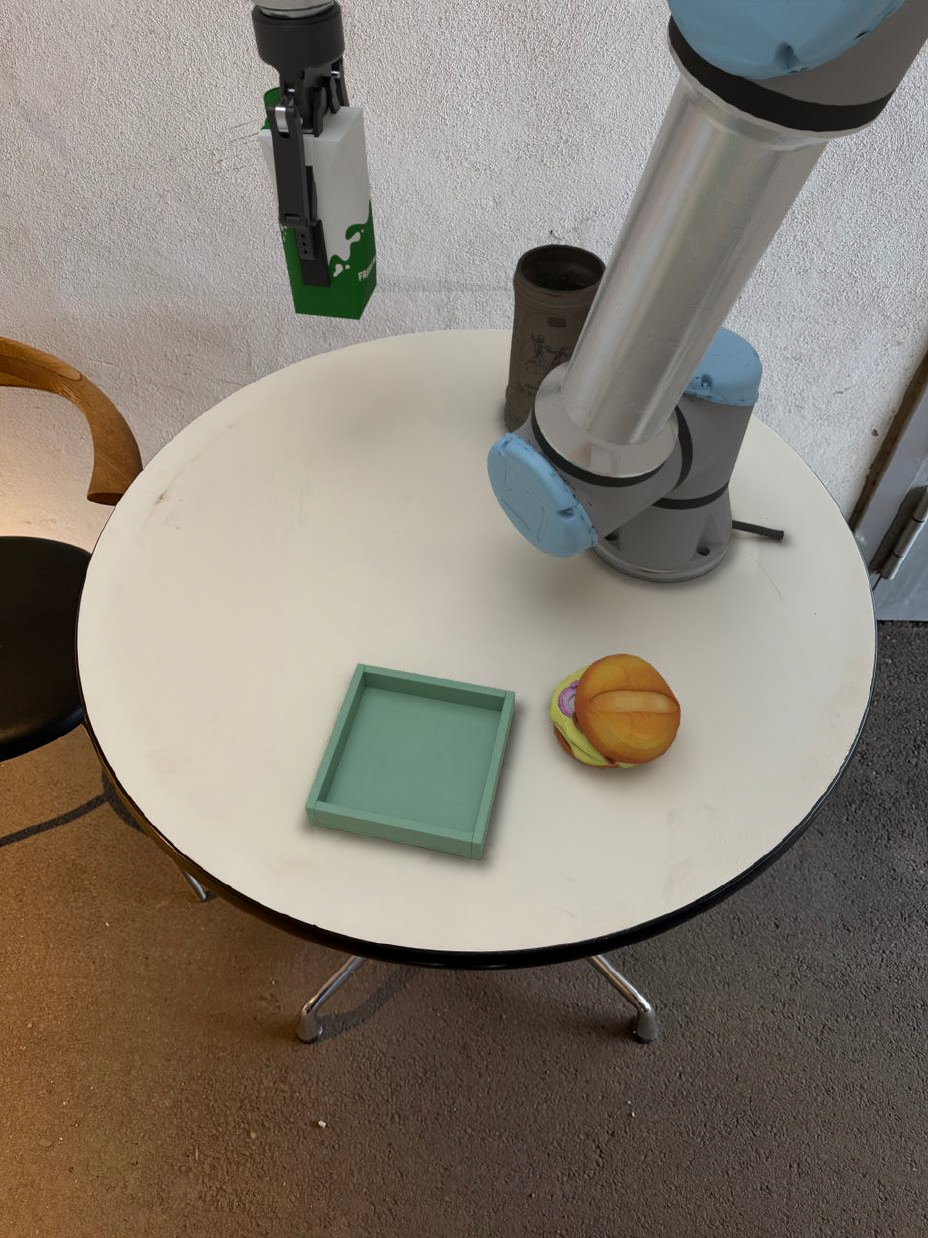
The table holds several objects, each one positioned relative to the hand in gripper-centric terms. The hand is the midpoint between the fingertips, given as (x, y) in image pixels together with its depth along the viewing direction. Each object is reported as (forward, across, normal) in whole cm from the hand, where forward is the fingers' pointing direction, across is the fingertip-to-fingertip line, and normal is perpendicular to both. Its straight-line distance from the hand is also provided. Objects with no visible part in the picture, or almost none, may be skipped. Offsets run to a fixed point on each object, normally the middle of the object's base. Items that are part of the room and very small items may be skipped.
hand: (332, 260), depth 89 cm
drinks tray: (+20, +45, +20) cm, 53 cm away
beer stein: (+20, -4, +26) cm, 33 cm away
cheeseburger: (+21, +38, +36) cm, 56 cm away
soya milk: (+5, 0, 0) cm, 5 cm away
